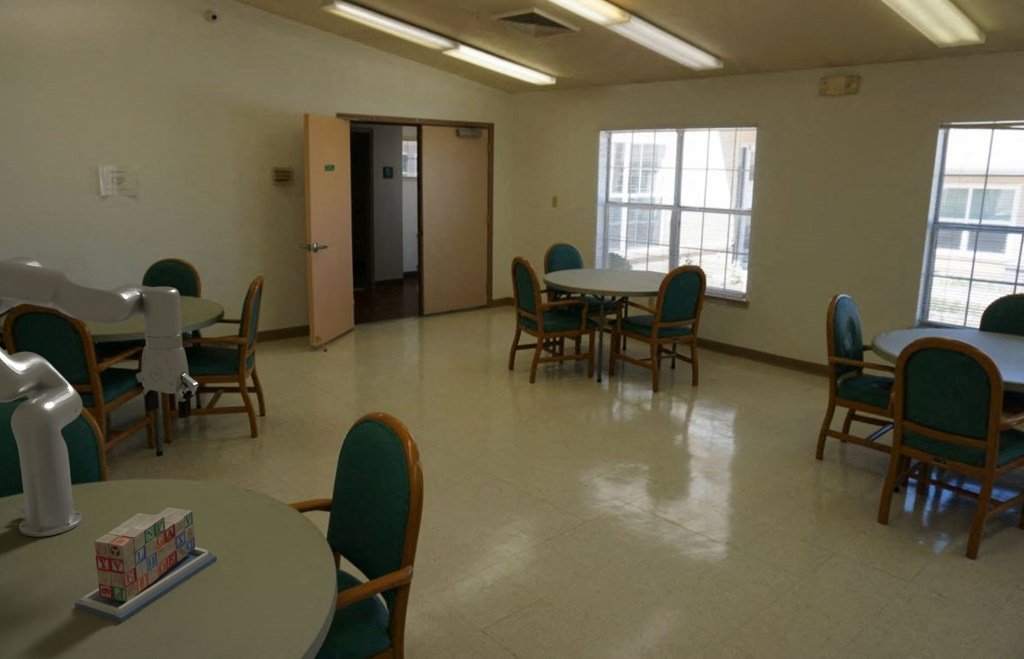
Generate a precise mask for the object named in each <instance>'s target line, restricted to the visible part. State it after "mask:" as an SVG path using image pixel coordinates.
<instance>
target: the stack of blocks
mask: <svg viewBox="0 0 1024 659" xmlns="http://www.w3.org/2000/svg"><path fill="white" fill-rule="evenodd" d="M194 524H195V523H194V514H193V510H188V509H182V508H175V507H168V506H167V507H166V508H165V509H164V510H162V511H160V512H159V513H157V514H147V513H141V512H137V513H136V514H135V515H134V516H131V517H130V518H129V519H127V520H126V521H124V522H122V523H121V524H119V526H116V527H115V528H113V529H111V530H110V531H109V532H107V533H105V534H103V535H102V536H100V537H99V538H97V539H96V540H94V547H95V548H94V549H95V562H96V565H95V566H96V570H97V579H98V588H99V594H100V597H101V598H106V599H112V600H113V599H114V600H118V601H123V602H128V601H129V600H130V599H131V598H133V597H134V596H135V595H137V594H138V593H140V592H141V591H142V590H143V589H145V588H146V587H147V586H148V585H150V584H151V583H152V582H154V581H155V580H156V579H158V577H159V576H161V575H162V574H163V573H164V572H166V571H167V570H168V569H169V568H171V567H172V566H173V565H174V564H176V563H177V562H179V561H180V560H181V559H182V558H184V557H185V556H186V555H188V554H189V553H190V552H191V551H193V550H194V549H195V547H196V542H195V541H196V540H195V525H194Z"/></svg>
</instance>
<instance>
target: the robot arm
mask: <svg viewBox="0 0 1024 659" xmlns="http://www.w3.org/2000/svg"><path fill="white" fill-rule="evenodd" d="M180 296H181V295H180V291H179V290H178V289H177V288H175V287H171V286H153V287H152V286H147V285H142V284H134V283H128V284H124V285H120V286H117V287H115V288H112V289H108V290H106V289H101V288H93V287H88V286H84V285H81V284H78V283H75V282H73V278H72V277H71V275H70V274H69V273H68V272H66V271H63V270H58V269H52V268H47V267H44V266H43V265H42V264H41V263H40V262H39V261H37V260H36V259H33V258H31V257H28V256H27V257H26V256H18V257H17V256H16V257H12V258H6V259H2V260H0V315H2V314H4V313H5V312H7V311H8V310H10V309H12V308H13V307H14V306H17V305H18V304H19V303H21V304H27V305H33V306H38V307H43V308H48V309H53V310H57V311H58V312H60V314H64V315H65V316H67V317H70V318H73V319H76V320H80V321H84V322H91V323H94V324H101V325H111V326H114V325H121V324H125V323H126V322H128V321H130V320H133V319H136V318H138V317H142V316H143V322H144V323H143V324H144V334H145V335H144V337H143V338H144V340H145V346H144V347H143V349H142V355H141V371H140V372H137V373H136V374H135V378H136V380H137V382H138V386H139V387H140V389H141V390H142V394H143V395H144V400H145V411H146V412H149V413H150V412H152V411H154V410H157V409H159V408H160V404H159V402H160V401H159V393H162V394H163V393H164V394H175V395H176V397H177V398H178V400H179V401H177V410H178V411H177V412H178V418H179V419H184V418H186V417H189V416H191V415H192V402H191V401H192V399H193V398H194V396H195V395H196V393H197V389H198V387H199V383H198V382H197V381H196V380H194V378H192V377H191V376H190V374H189V365H188V360H187V354H186V350H185V347H183V333H182V332H183V331H182V330H183V329H182V316H181V315H182V314H181V297H180ZM182 392H183V393H184V394H183V393H182ZM24 396H27V398H28V399H25V400H24V401H23V402H21V403H20V404H19V405H18V406H17V407H16V408H15V410H14V411H13V413H12V416H11V419H10V425H11V429H12V434H13V436H14V439H15V441H16V445H17V449H18V456H19V466H20V471H21V480H22V490H23V498H24V499H23V500H24V503H23V505H20V506H19V507H18V512H20V513H24V514H23V515H24V519H23V520H22V521H21V522H20V523H19V527H18V528H19V532H20V534H22V535H24V536H27V537H35V538H36V537H37V538H38V537H40V538H42V537H49V536H54V535H58V534H61V533H65V532H67V531H69V530H72V529H74V528H75V527H77V526H78V525H79V524H80V523H81V522H82V520H83V515H82V512H81V511H79V510H77V509H75V508H74V501H73V499H74V498H73V490H72V479H71V468H70V458H69V451H68V446H67V443H66V441H65V439H64V436H63V435H62V432H61V431H62V429H63V428H65V427H66V426H67V425H68V424H70V423H72V422H73V421H75V420H76V419H77V418H78V417H79V416H80V414H81V413H82V410H83V401H82V398H81V396H80V393H78V391H77V390H76V389H75V388H74V387H73V385H71V383H70V382H69V381H68V380H67V379H66V378H65V377H64V376H63V375H62V374H61V373H60V372H59V371H58V370H57V369H56V368H55V367H54V366H53V364H51V363H50V362H49V361H48V360H47V359H46V358H44V357H43V356H41V355H39V354H38V353H35V352H31V351H20V352H16V353H12V354H11V355H10V354H9V353H8V352H6V351H5V350H4V349H3V348H2V347H1V346H0V403H10V402H12V401H15V400H18V399H20V398H21V397H24Z"/></svg>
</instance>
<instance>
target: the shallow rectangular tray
mask: <svg viewBox="0 0 1024 659" xmlns="http://www.w3.org/2000/svg"><path fill="white" fill-rule="evenodd" d="M216 561H217V556H216V555H213V554H212V550H207V549H204V548H200V547H196V546H195V549H194V550H193V551H191V552H190V553H189V554H188V555H186V556H185V557H184V558H182V559H181V560H180V561H179V562H177V563H176V564H174V565H173V566H172V567H171V568H169V569H168V570H167V571H166V572H164V573H163V574H162V575H161V576H159V577H158V579H156V580H155V581H154V582H152V583H151V584H150V585H148V586H147V587H146V588H145V589H143V590H142V591H141V592H140V593H138V594H137V595H135V596H134V597H133V598H131V599H130V600H129V601H128V602H123V601H118V600H114V599H113V600H112V599H106V598H101V597H100V594H99V587H98V588H96V589H95V590H93V591H91V592H90V593H88V594H86V595H84V596H82V597H81V598H79V600H77V601H75V602H74V607H75V608H76V609H79V610H82V611H85V612H88V613H91V614H94V615H97V616H100V617H104V618H106V619H109V620H112V621H114V622H118V623H124V622H125V621H126V620H128V619H129V618H130V619H131V617H132V616H134V615H136V614H138V612H140V611H142V610H144V609H145V608H147V607H148V606H149V605H151V604H152V603H154V602H155V601H157V600H159V599H160V598H161V597H163V596H165V595H166V594H167V593H169V592H170V591H172V590H174V589H175V588H176V587H178V586H180V585H181V584H182V583H184V582H186V581H187V580H189V579H190V578H192V577H194V576H196V574H198V573H200V572H201V571H203V570H204V569H206V568H207V567H208V566H210V565H212V564H213V563H215V562H216Z"/></svg>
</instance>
